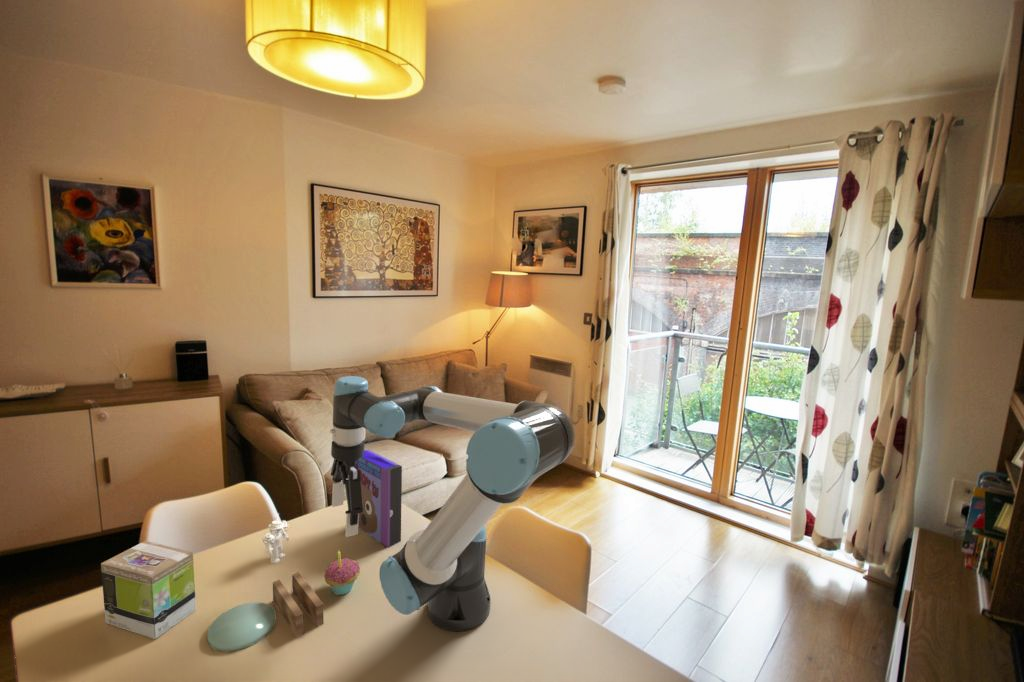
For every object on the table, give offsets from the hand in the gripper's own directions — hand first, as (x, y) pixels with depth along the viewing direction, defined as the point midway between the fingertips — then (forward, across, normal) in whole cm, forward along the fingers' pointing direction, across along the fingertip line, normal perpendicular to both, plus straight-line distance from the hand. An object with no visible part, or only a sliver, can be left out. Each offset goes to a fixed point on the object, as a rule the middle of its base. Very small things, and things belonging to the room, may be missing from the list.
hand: (344, 519), depth 114 cm
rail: (+18, +5, -13) cm, 23 cm away
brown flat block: (+18, +5, -9) cm, 21 cm away
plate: (+19, +4, -22) cm, 29 cm away
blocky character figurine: (+21, -19, -12) cm, 31 cm away
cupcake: (+19, +2, 0) cm, 19 cm away
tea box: (+21, -10, -39) cm, 45 cm away
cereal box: (+20, -18, +15) cm, 31 cm away
